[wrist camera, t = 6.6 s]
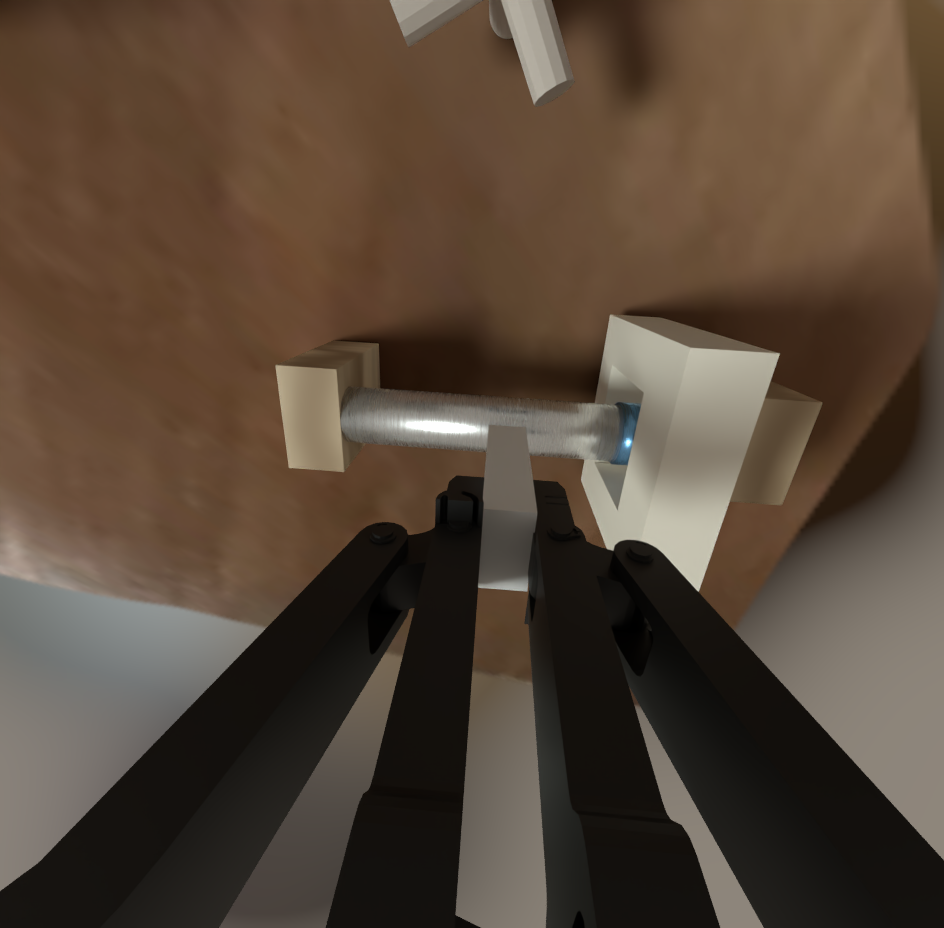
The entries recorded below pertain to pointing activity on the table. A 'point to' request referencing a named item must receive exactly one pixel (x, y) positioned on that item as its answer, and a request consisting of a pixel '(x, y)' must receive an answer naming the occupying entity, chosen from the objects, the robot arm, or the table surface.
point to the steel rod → (488, 422)
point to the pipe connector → (503, 36)
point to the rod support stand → (357, 364)
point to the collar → (676, 435)
